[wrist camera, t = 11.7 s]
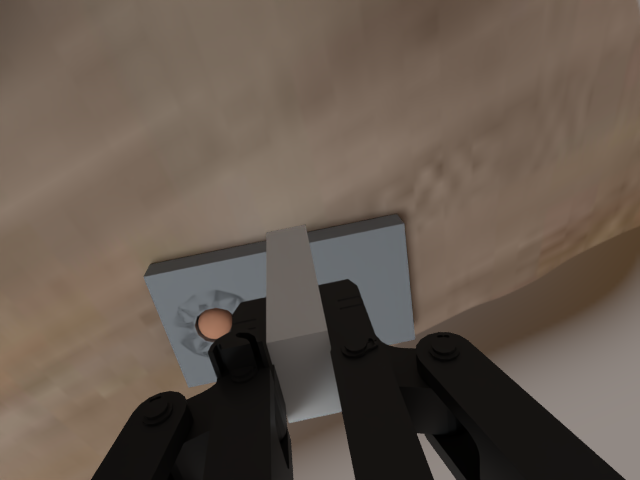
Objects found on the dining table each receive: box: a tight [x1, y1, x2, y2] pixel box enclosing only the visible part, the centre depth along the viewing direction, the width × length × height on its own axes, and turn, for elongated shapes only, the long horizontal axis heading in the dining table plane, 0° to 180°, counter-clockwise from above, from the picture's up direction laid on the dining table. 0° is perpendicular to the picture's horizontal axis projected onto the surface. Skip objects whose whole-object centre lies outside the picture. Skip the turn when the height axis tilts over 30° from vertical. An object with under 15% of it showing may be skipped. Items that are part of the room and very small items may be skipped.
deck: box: [144, 214, 415, 387], centre depth 45 cm, size 25×14×2 cm, turn 100°
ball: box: [198, 308, 232, 339], centre depth 44 cm, size 3×3×3 cm
